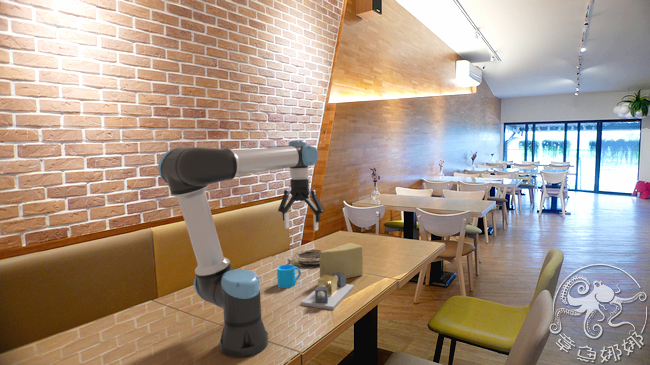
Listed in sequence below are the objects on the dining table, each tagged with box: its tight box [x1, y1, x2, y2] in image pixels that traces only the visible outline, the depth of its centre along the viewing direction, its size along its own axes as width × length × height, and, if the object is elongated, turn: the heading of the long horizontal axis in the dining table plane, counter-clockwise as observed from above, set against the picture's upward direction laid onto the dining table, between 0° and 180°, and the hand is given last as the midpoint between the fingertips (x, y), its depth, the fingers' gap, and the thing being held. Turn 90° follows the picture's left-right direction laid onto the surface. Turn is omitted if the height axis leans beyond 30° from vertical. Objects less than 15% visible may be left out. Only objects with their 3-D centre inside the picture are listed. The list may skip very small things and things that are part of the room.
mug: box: [276, 264, 302, 289], centre depth 174 cm, size 12×8×8 cm
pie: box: [288, 248, 323, 267], centre depth 206 cm, size 28×27×5 cm
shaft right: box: [332, 272, 347, 288], centre depth 165 cm, size 7×5×5 cm
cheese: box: [319, 242, 364, 279], centre depth 178 cm, size 22×10×15 cm, turn 127°
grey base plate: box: [300, 283, 355, 311], centre depth 158 cm, size 24×14×1 cm, turn 156°
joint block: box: [317, 275, 337, 295], centre depth 159 cm, size 6×6×6 cm
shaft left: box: [314, 285, 328, 303], centre depth 151 cm, size 7×5×5 cm
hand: (301, 229), depth 156 cm, fingers open, 13 cm apart
